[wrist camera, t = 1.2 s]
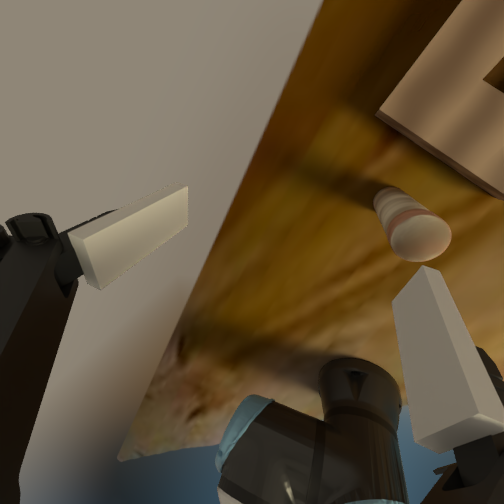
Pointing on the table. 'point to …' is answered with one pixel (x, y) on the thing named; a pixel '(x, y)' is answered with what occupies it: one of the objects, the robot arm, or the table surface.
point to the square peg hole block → (457, 96)
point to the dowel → (410, 226)
